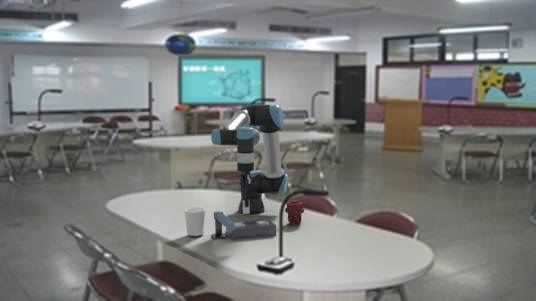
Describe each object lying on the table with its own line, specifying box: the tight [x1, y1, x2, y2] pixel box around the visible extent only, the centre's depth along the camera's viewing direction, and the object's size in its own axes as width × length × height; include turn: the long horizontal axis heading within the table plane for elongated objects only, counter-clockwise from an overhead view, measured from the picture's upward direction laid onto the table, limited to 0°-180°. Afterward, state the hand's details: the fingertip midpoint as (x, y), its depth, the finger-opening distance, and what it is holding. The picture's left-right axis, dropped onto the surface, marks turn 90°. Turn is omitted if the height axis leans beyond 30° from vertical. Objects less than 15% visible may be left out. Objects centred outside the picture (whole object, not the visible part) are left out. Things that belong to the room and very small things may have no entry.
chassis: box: [225, 219, 277, 240], centre depth 263 cm, size 12×22×5 cm, turn 108°
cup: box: [184, 206, 206, 238], centre depth 261 cm, size 10×10×13 cm
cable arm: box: [213, 211, 235, 230], centre depth 248 cm, size 24×4×3 cm, turn 21°
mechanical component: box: [284, 199, 305, 226], centre depth 282 cm, size 12×10×10 cm
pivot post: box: [210, 219, 227, 240], centre depth 258 cm, size 6×6×9 cm
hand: (246, 213), depth 245 cm, fingers closed
